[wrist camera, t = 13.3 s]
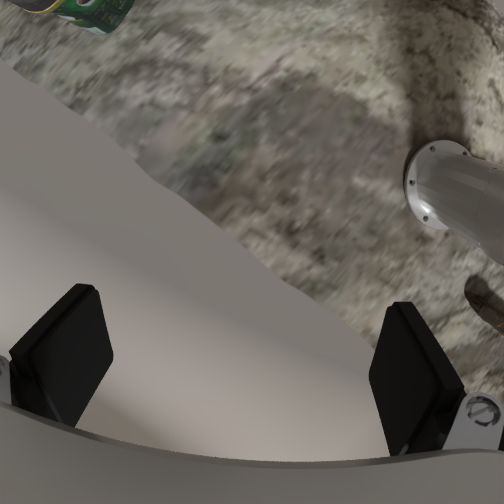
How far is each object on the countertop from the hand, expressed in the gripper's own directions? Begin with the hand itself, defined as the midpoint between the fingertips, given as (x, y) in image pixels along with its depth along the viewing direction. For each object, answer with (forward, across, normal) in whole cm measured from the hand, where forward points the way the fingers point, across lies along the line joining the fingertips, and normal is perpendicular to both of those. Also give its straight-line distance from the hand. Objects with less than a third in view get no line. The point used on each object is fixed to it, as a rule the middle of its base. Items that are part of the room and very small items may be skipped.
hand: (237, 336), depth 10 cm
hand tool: (+33, -42, +21) cm, 57 cm away
